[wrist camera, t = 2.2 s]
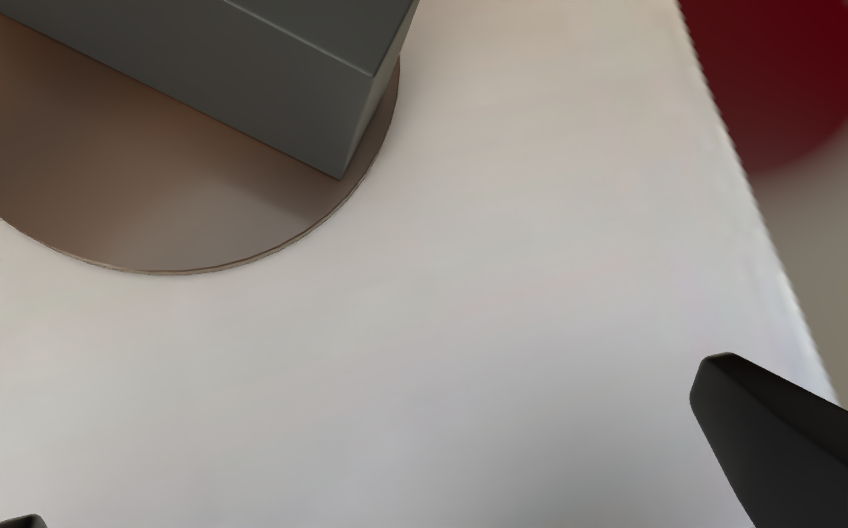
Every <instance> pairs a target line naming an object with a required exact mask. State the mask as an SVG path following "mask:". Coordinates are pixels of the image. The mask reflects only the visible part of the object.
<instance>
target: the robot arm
mask: <svg viewBox="0 0 848 528" xmlns="http://www.w3.org/2000/svg"><path fill="white" fill-rule="evenodd" d="M689 399H690V405H691V408H692V411H693V413H694V415H695V417H696V419H697V421H698V423H699V425H700V427H701V429H702V430H703V432H704V434H705V436H706V438H707V440H708V442H709V444H710V446H711V448H712V450H713V452H714V454H715V456H716V458H717V460H718V462H719V464H720V466H721V467H722V469H723V471H724V473H725V475H726V477H727V479H728V481H729V483H730V485H731V487H732V489H733V490H734V492H735V494H736V496H737V498H738V499H739V501H740V503H741V504H742V506H743V508H744V509H745V511H746V513H747V514H748V516H749V517H750V519H751V521H752V522H753V524H754V525H755V527H756V528H848V411H847V410H845V409H843V408H841V407H839V406H837V405H835V404H833V403H831V402H829V401H827V400H825V399H823V398H821V397H819V396H817V395H815V394H813V393H811V392H809V391H807V390H805V389H803V388H802V387H800V386H798V385H796V384H794V383H792V382H790V381H788V380H786V379H784V378H782V377H780V376H778V375H776V374H774V373H772V372H770V371H768V370H766V369H764V368H762V367H760V366H758V365H756V364H754V363H752V362H750V361H749V360H747V359H745V358H743V357H741V356H739V355H737V354H734V353H730V352H725V353H720V354H716V355H711V356H708V357H705V358H704V359H703V360H702V361H701V363H700V366H699V369H698V371H697V374H696V377H695V380H694V383H693V386H692V388H691V391H690V398H689ZM0 528H47V526H46V524H45V522H44V521H43V519H42V518H41V517H40V516H38V515H36V514H30V515H26V516H21V517H17V518H13V519H9V520H5V521H2V522H0Z"/></svg>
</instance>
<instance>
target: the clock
mask: <svg viewBox="0 0 848 528" xmlns="http://www.w3.org/2000/svg"><path fill="white" fill-rule="evenodd" d="M419 1H420V0H0V13H2V14H4V15H6V16H8V17H10V18H12V19H14V20H16V21H18V22H20V23H22V24H24V25H26V26H28V27H30V28H32V29H35V30H37V31H39V32H41V33H43V34H45V35H47V36H49V37H51V38H53V39H55V40H57V41H59V42H61V43H63V44H65V45H67V46H69V47H71V48H73V49H75V50H77V51H79V52H81V53H83V54H85V55H87V56H89V57H91V58H93V59H95V60H97V61H99V62H101V63H103V64H105V65H107V66H109V67H111V68H113V69H116V70H118V71H120V72H122V73H124V74H126V75H128V76H130V77H132V78H134V79H136V80H138V81H140V82H142V83H144V84H146V85H148V86H150V87H152V88H154V89H156V90H158V91H160V92H162V93H164V94H166V95H168V96H170V97H172V98H174V99H176V100H178V101H180V102H182V103H184V104H186V105H188V106H190V107H192V108H194V109H197V110H199V111H201V112H203V113H205V114H207V115H209V116H211V117H213V118H215V119H217V120H219V121H221V122H223V123H225V124H227V125H229V126H231V127H233V128H235V129H237V130H239V131H241V132H243V133H245V134H247V135H249V136H251V137H253V138H255V139H257V140H259V141H261V142H263V143H265V144H267V145H269V146H271V147H273V148H275V149H278V150H280V151H282V152H284V153H286V154H288V155H290V156H292V157H294V158H296V159H298V160H300V161H302V162H304V163H306V164H308V165H310V166H312V167H314V168H316V169H318V170H320V171H322V172H324V173H326V174H328V175H330V176H332V177H334V178H336V179H338V180H342V178H343V176H344V174H345V172H346V170H347V168H348V166H349V164H350V162H351V160H352V158H353V156H354V154H355V152H356V150H357V148H358V146H359V144H360V142H361V140H362V138H363V136H364V134H365V132H366V130H367V128H368V126H369V124H370V122H371V120H372V118H373V116H374V114H375V112H376V110H377V108H378V106H379V104H380V102H381V100H382V98H383V96H384V93H385V90H386V88H387V85H388V83H389V80H390V77H391V75H392V72H393V69H394V67H395V64H396V61H397V59H398V56H399V53H400V51H401V48H402V46H403V43H404V40H405V38H406V35H407V32H408V30H409V27H410V24H411V22H412V19H413V16H414V14H415V11H416V9H417V6H418V3H419Z"/></svg>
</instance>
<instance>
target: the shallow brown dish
mask: <svg viewBox="0 0 848 528" xmlns="http://www.w3.org/2000/svg"><path fill="white" fill-rule="evenodd" d="M399 76H400V53H399V56H398V59H397V61H396V64H395V67H394V69H393V72H392V75H391V77H390V80H389V83H388V85H387V88H386V90H385V93H384V96H383V98H382V100H381V102H380V104H379V106H378V108H377V110H376V112H375V114H374V116H373V118H372V120H371V122H370V124H369V126H368V128H367V130H366V132H365V134H364V136H363V138H362V140H361V142H360V144H359V146H358V148H357V150H356V152H355V154H354V156H353V158H352V160H351V162H350V164H349V166H348V168H347V170H346V172H345V174H344V176H343V178H342V180H338V179H336V178H334V177H332V176H330V175H328V174H326V173H324V172H322V171H320V170H318V169H316V168H314V167H312V166H310V165H308V164H306V163H304V162H302V161H300V160H298V159H296V158H294V157H292V156H290V155H288V154H286V153H284V152H282V151H280V150H278V149H275V148H273V147H271V146H269V145H267V144H265V143H263V142H261V141H259V140H257V139H255V138H253V137H251V136H249V135H247V134H245V133H243V132H241V131H239V130H237V129H235V128H233V127H231V126H229V125H227V124H225V123H223V122H221V121H219V120H217V119H215V118H213V117H211V116H209V115H207V114H205V113H203V112H201V111H199V110H197V109H194V108H192V107H190V106H188V105H186V104H184V103H182V102H180V101H178V100H176V99H174V98H172V97H170V96H168V95H166V94H164V93H162V92H160V91H158V90H156V89H154V88H152V87H150V86H148V85H146V84H144V83H142V82H140V81H138V80H136V79H134V78H132V77H130V76H128V75H126V74H124V73H122V72H120V71H118V70H116V69H113V68H111V67H109V66H107V65H105V64H103V63H101V62H99V61H97V60H95V59H93V58H91V57H89V56H87V55H85V54H83V53H81V52H79V51H77V50H75V49H73V48H71V47H69V46H67V45H65V44H63V43H61V42H59V41H57V40H55V39H53V38H51V37H49V36H47V35H45V34H43V33H41V32H39V31H37V30H35V29H32V28H30V27H28V26H26V25H24V24H22V23H20V22H18V21H16V20H14V19H12V18H10V17H8V16H6V15H4V14H2V13H0V218H2V219H3V220H5V221H6V222H7V223H9V224H10V225H12V226H13V227H14V228H16V229H17V230H19V231H20V232H22V233H24V234H25V235H27V236H29V237H31V238H33V239H35V240H37V241H39V242H40V243H42V244H44V245H46V246H48V247H50V248H52V249H54V250H56V251H57V252H60V253H63V254H65V255H68V256H71V257H73V258H76V259H78V260H81V261H84V262H86V263H89V264H93V265H97V266H101V267H105V268H109V269H114V270H118V271H122V272H131V273H139V274H148V275H191V274H198V273H206V272H214V271H220V270H224V269H228V268H232V267H235V266H239V265H243V264H247V263H250V262H253V261H255V260H258V259H260V258H263V257H265V256H268V255H270V254H273V253H275V252H278V251H279V250H281V249H283V248H285V247H287V246H288V245H290V244H292V243H294V242H296V241H297V240H299V239H301V238H303V237H304V236H306V235H307V234H308V233H310V232H311V231H312V230H314V229H315V228H316V227H318V226H319V225H320V224H322V223H323V222H324V221H326V220H327V219H328V218H329V217H330V216H331V215H332V214H333V213H334V212H335V211H336V210H337V209H338V208H339V207H340V206H341V205H342V204H343V203H344V202H346V201H347V199H348V198H349V197H350V196H351V194H352V193H353V192H354V190H355V189H356V188H357V187H358V185H359V184H360V183H361V182H362V180H363V179H364V178H365V176H366V174H367V172H368V171H369V169H370V167H371V165H372V164H373V162H374V160H375V158H376V157H377V155H378V153H379V151H380V149H381V146H382V144H383V141H384V139H385V136H386V134H387V131H388V129H389V126H390V124H391V120H392V116H393V112H394V108H395V104H396V100H397V95H398V85H399Z"/></svg>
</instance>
